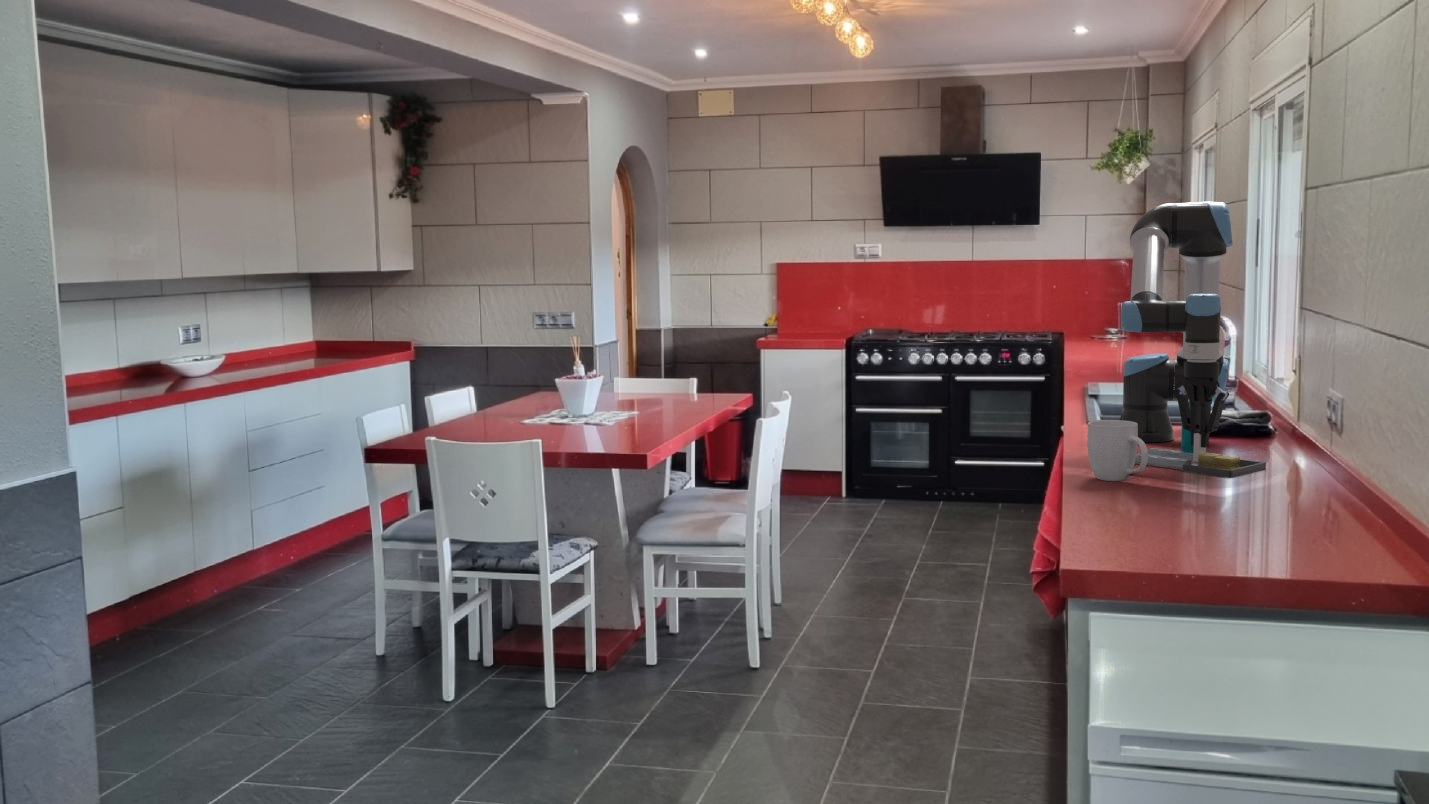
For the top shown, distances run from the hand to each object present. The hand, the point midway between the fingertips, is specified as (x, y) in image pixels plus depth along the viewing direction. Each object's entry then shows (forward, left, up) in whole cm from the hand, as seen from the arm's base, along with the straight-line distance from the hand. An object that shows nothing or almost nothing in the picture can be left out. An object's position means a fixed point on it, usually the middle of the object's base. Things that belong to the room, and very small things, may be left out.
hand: (1199, 460), depth 288 cm
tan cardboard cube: (0, +7, -2) cm, 7 cm away
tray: (0, +6, -3) cm, 7 cm away
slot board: (0, -8, -3) cm, 8 cm away
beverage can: (-14, -10, -3) cm, 17 cm away
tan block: (0, +3, -2) cm, 4 cm away
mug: (+20, -9, -3) cm, 22 cm away
